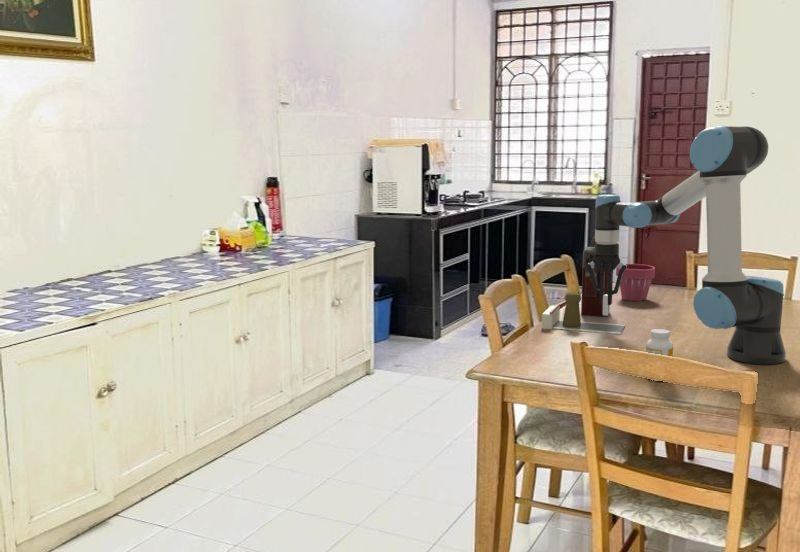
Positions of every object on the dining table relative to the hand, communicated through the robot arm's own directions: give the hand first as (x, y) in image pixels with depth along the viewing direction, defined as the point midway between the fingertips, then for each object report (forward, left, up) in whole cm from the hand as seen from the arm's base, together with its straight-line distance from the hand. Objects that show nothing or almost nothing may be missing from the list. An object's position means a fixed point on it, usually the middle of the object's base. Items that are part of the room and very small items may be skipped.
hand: (605, 314), depth 258 cm
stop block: (0, +18, -5) cm, 19 cm away
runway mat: (0, +5, -5) cm, 7 cm away
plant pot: (+52, -4, -5) cm, 53 cm away
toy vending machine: (+20, +6, -5) cm, 22 cm away
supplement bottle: (-50, -21, -5) cm, 54 cm away
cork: (0, +11, -5) cm, 12 cm away
